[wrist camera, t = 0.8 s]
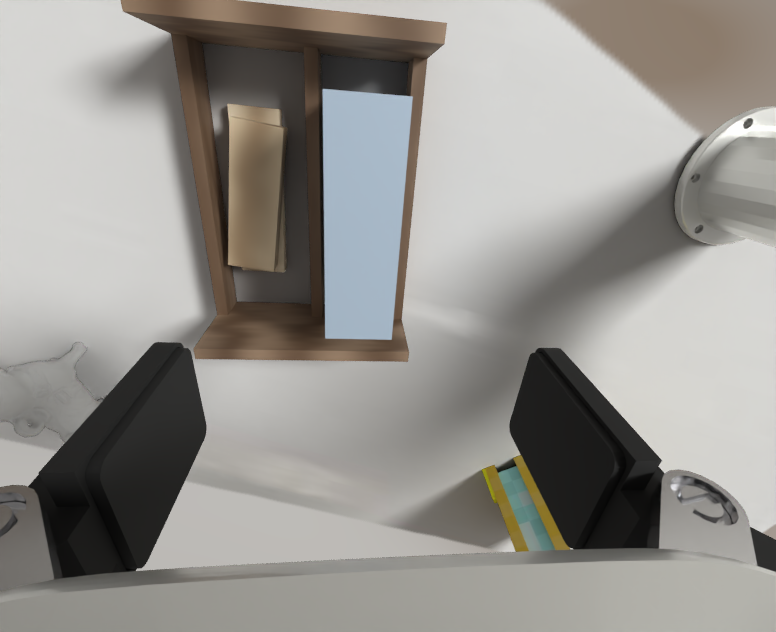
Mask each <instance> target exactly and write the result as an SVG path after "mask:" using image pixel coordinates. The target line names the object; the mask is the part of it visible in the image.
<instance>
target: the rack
mask: <svg viewBox="0 0 776 632" xmlns="http://www.w3.org/2000/svg"><path fill="white" fill-rule="evenodd" d="M121 4H122V9H123V11H124V12H126V13H128V14H130V15H132V16H134V17H136V18H139V19H141V20H143V21H145V22H147V23H149V24H152V25H154V26H156V27H158V28H160V29H162V30H164V31H167V32H169V33H171V36H172V42H173V49H174V55H175V61H176V67H177V73H178V79H179V85H180V91H181V97H182V103H183V109H184V115H185V121H186V128H187V134H188V140H189V146H190V152H191V158H192V164H193V170H194V176H195V182H196V188H197V194H198V200H199V207H200V213H201V219H202V225H203V231H204V237H205V243H206V249H207V255H208V261H209V267H210V273H211V279H212V285H213V292H214V298H215V304H216V310H217V316H216V318H215V319H214V320H213V322H212V323H211V325H210V326H209V327H208V329H207V330H206V332H205V333H204V335H203V336H202V337H201V339H200V340H199V342H198V343H197V344H196V346H195V347H194V354H195V359H245V360H324V361H403V362H408V356H409V350H408V346H407V341H406V337H405V333H404V328H403V324H402V320H401V319H402V309H403V299H404V289H405V278H406V268H407V258H408V248H409V238H410V228H411V217H412V207H413V197H414V187H415V177H416V167H417V157H418V146H419V136H420V126H421V116H422V106H423V96H424V86H425V75H426V65H427V58H428V57H430V56H431V55H432V54H433V53H434V52H435V51H437V50H438V49H439V48H440V47H441V46H443V45H444V43H445V34H446V25H447V23H442V22H433V21H423V20H414V19H405V18H396V17H386V16H377V15H368V14H359V13H349V12H340V11H331V10H321V9H312V8H303V7H294V6H284V5H275V4H266V3H257V2H247V1H238V0H121ZM202 43H208V44H218V45H229V46H239V47H250V48H260V49H270V50H281V51H291V52H302V53H304V79H305V112H306V145H307V178H308V211H309V245H310V278H311V304H300V303H264V302H237V299H236V292H235V285H234V277H233V270H232V265H228V232H227V225H226V218H225V210H224V203H223V195H222V188H221V180H220V173H219V165H218V158H217V151H216V143H215V136H214V128H213V121H212V113H211V106H210V98H209V91H208V84H207V76H206V69H205V61H204V54H203V46H202ZM321 54H323V55H333V56H344V57H354V58H364V59H375V60H385V61H396V62H406V63H409V65H408V77H407V90H406V96H412V97H413V100H412V111H411V123H410V134H409V146H408V157H407V169H406V180H405V192H404V203H403V215H402V226H401V238H400V249H399V261H398V272H397V284H396V295H395V307H394V319H393V330H392V340H377V339H325V304H324V252H323V170H322V87H321Z"/></svg>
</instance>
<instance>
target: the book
mask: <svg viewBox="0 0 776 632" xmlns="http://www.w3.org/2000/svg"><path fill="white" fill-rule="evenodd" d="M513 459H514V461H515V463H516V466H515V467H512V468H510V469H507V470H504V471H501V472H499V473H498V472H497V470H496V468H495V465H493V466H490V467H487V468H485V469H482V471H483V474H484V477H485V480H486V482H487V485H488V488H489V491H490V493H491V496H492V499H493V501H494V503H498V505H499V508H500V510H501V513H502V516H503V518H504V521H505V524H506V527H507V529H508V532H509V535H510V537H511V540H512V543H513V545H514V548H515V551H516V552H524V551H548V550H570V548H569V547H568V546H567V545H566V543H565V542H564V540H563V538H562V536H561V534H560V532H559V530H558V528H557V526H556V524H555V522H554V520H553V518H552V516H551V514H550V512H549V510H548V508H547V506H546V504H545V502H544V500H543V498H542V496H541V494H540V492H539V490H538V488H537V486H536V484H535V482H534V480H533V478H532V476H531V474H530V472H529V470H528V468H527V466H526V464H525V462H524V460H523V458H522V456H521V455H520V456H517V457H515V458H513Z"/></svg>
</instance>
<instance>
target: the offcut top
mask: <svg viewBox="0 0 776 632" xmlns="http://www.w3.org/2000/svg"><path fill="white" fill-rule="evenodd" d="M286 141H287V128H286V127H281V126H277V125H272V124H268V123H263V122H258V121H254V120H249V119H245V118H240V117H230V116H229V227H228V265H233V266H239V267H246V268H252V269H259V270H265V271H272V272H274V271H275V269H276V267H277V265H278V252H279V238H280V225H281V211H282V197H283V183H284V169H285V155H286Z"/></svg>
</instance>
